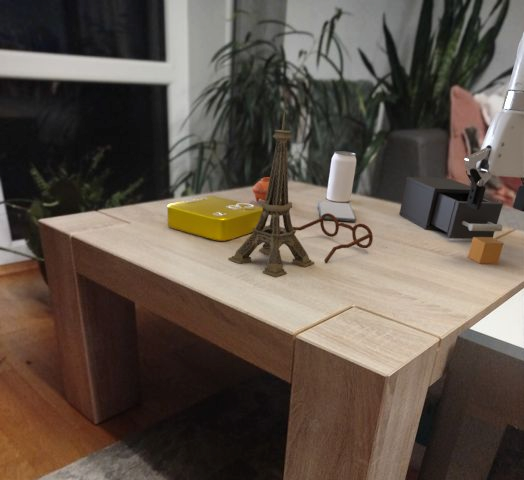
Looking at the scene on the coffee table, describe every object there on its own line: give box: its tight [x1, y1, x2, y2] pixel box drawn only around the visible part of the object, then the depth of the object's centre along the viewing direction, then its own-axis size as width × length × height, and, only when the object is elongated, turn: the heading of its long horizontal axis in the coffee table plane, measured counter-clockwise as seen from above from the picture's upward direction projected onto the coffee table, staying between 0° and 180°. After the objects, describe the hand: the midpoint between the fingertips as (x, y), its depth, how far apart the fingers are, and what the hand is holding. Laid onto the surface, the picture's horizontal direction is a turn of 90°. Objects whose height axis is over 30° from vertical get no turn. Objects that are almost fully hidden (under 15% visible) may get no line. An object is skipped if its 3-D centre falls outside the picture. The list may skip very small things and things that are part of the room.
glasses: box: [293, 213, 374, 264], centre depth 95 cm, size 13×13×5 cm
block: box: [467, 237, 505, 265], centre depth 95 cm, size 4×4×4 cm
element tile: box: [166, 195, 263, 242], centre depth 102 cm, size 15×15×5 cm
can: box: [326, 150, 357, 203], centre depth 133 cm, size 6×6×12 cm
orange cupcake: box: [252, 176, 274, 203], centre depth 124 cm, size 8×8×7 cm
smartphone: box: [317, 200, 357, 223], centre depth 121 cm, size 8×1×15 cm
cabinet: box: [399, 176, 471, 231], centre depth 119 cm, size 14×12×9 cm
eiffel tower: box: [227, 100, 316, 278], centre depth 80 cm, size 11×11×25 cm
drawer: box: [430, 192, 504, 239], centre depth 109 cm, size 17×10×7 cm, turn 12°
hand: (496, 208), depth 92 cm, fingers open, 9 cm apart
